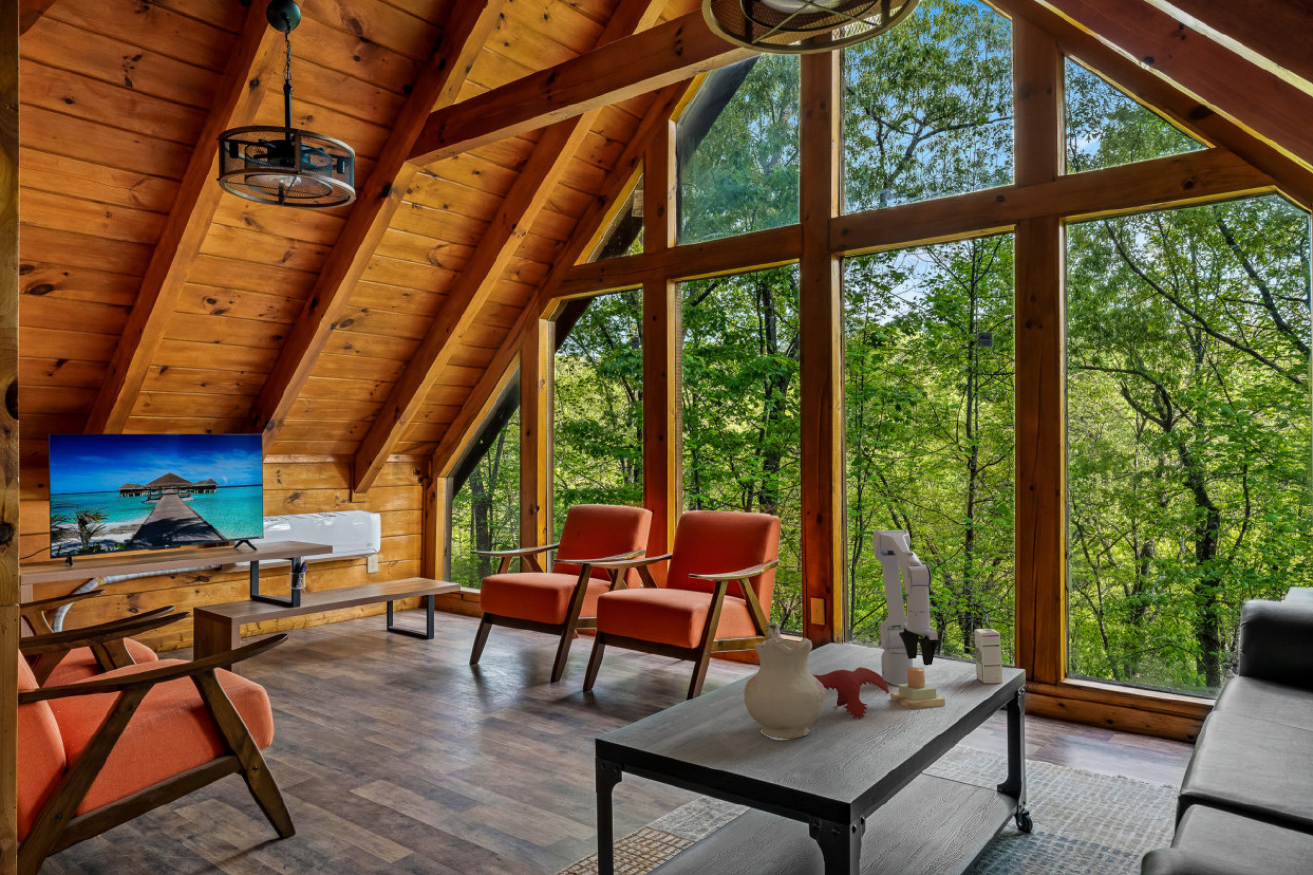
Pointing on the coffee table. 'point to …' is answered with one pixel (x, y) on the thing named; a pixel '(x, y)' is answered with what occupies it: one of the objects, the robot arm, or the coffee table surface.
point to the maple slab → (917, 701)
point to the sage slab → (917, 692)
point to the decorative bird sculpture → (851, 687)
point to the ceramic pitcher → (784, 687)
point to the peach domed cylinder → (916, 677)
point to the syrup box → (988, 656)
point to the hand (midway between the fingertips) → (920, 661)
